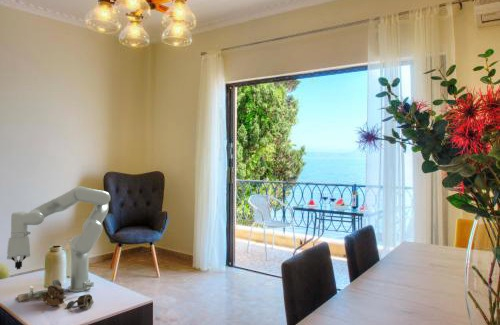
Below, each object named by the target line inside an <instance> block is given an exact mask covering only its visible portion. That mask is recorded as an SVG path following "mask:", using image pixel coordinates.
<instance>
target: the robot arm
mask: <svg viewBox="0 0 500 325" xmlns="http://www.w3.org/2000/svg"><path fill="white" fill-rule="evenodd" d="M80 202H81V203H82V202H83V203H87V204H93V208H92V211H91V213H90V214H89V216H88V217H87V218H86V220H85V221H84V223H83V225H82V233H81V234H78V235H77V234H76V235H75V236H73V237H72V239H71V240H70V243H69V244H70V245H69V246H70V285H69V286H67V291H69V292H71V293H74V292H75V293H78V292H84V291H87V290H90V289H91V288H92V287H94V286H95V285H94V284H95V282H91V279H89V262H90V260H89V259H90V258H89V256H90V255H89V254H90V253H89V252H90V251H91V250H92V249H93V248H94V247H95V244H96V243H97V242H98V240H99V238H100V237H101V235H102V233H103V229H104V227H103V224H102V223H103V222H104V220H105V219H106V217H107V214H108V212H109V208H110V207H109V205H110V204H109V203H110V202H111V195H110V193H109V192H108V191H105V190H99V189H93V188H89V187H86V186H82V185H79V186H76V187H74V188H72V189H70V190H69V191H67V192H65V193H63V194H61V195H59V196H57V197H55V198H54V199H53V198H52V199H51V200H49V201H47V202H45V203H42V204H40V205H39V206H36V207H35V208H33V209H31V210H30V211H29V212H27V211H16V212H15V211H14V212H13V213H11V217H10V218H11V219H10V237H9V238H8V242H7V249H6V250H7V251H6V260H12V261H13V262H14V267H15V269H16V270H21V268H22V267H23V261H25V259H27V258H29V257H31V244H30V237H29V235H31V231H28V226H38V225H42V224H43V223H44V221H45V218H47V217H49V216H50V215H53V214H56V213H59V212H60V213H61V212H63V211H66V210H68V209H70V208H71V207H73V206H75V205H77V204H79V203H80ZM18 257H19V260H18Z"/></svg>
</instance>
